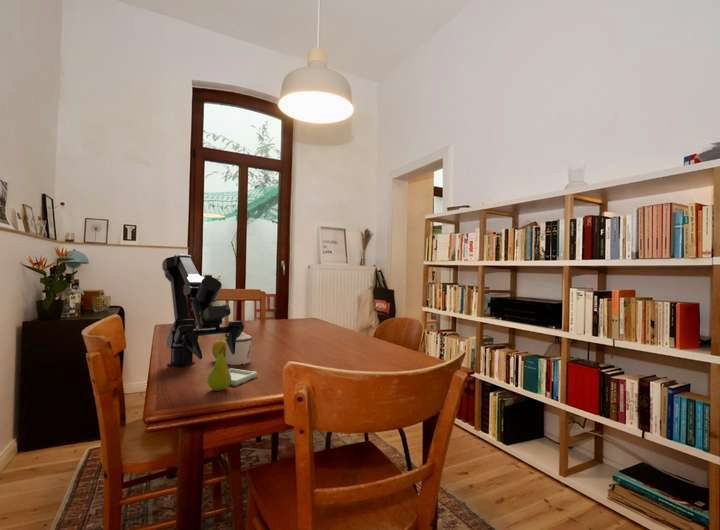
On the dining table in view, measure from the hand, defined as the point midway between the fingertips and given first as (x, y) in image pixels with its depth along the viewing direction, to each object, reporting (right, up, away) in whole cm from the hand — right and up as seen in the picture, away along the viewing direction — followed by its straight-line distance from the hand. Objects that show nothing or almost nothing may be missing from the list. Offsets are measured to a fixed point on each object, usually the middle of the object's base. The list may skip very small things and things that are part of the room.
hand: (218, 356), depth 104 cm
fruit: (+1, -9, -1) cm, 9 cm away
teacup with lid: (-5, -10, +30) cm, 32 cm away
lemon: (-11, -9, +30) cm, 34 cm away
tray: (+1, -9, +9) cm, 13 cm away
